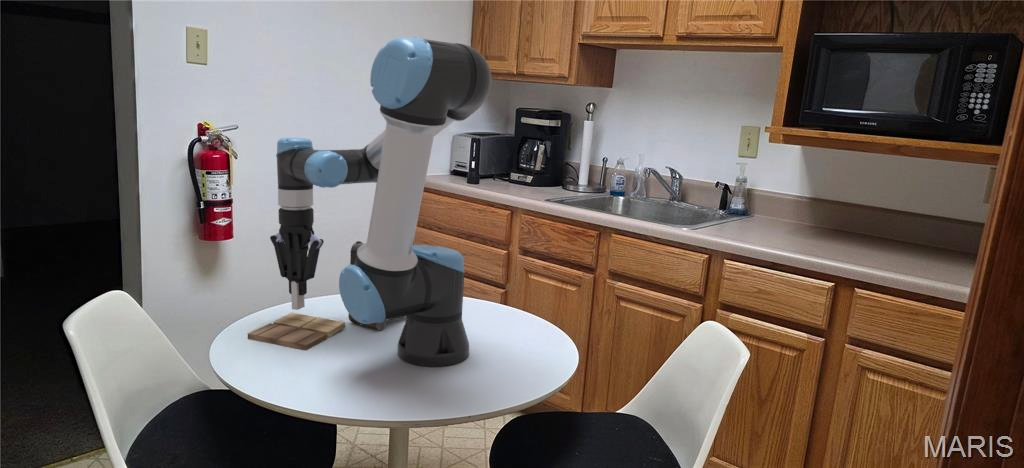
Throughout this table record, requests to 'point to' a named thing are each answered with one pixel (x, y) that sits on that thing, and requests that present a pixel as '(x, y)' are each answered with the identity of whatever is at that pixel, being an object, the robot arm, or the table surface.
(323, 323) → the oak plank
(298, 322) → the oak plank
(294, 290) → the robot arm
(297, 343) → the walnut row
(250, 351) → the table surface
